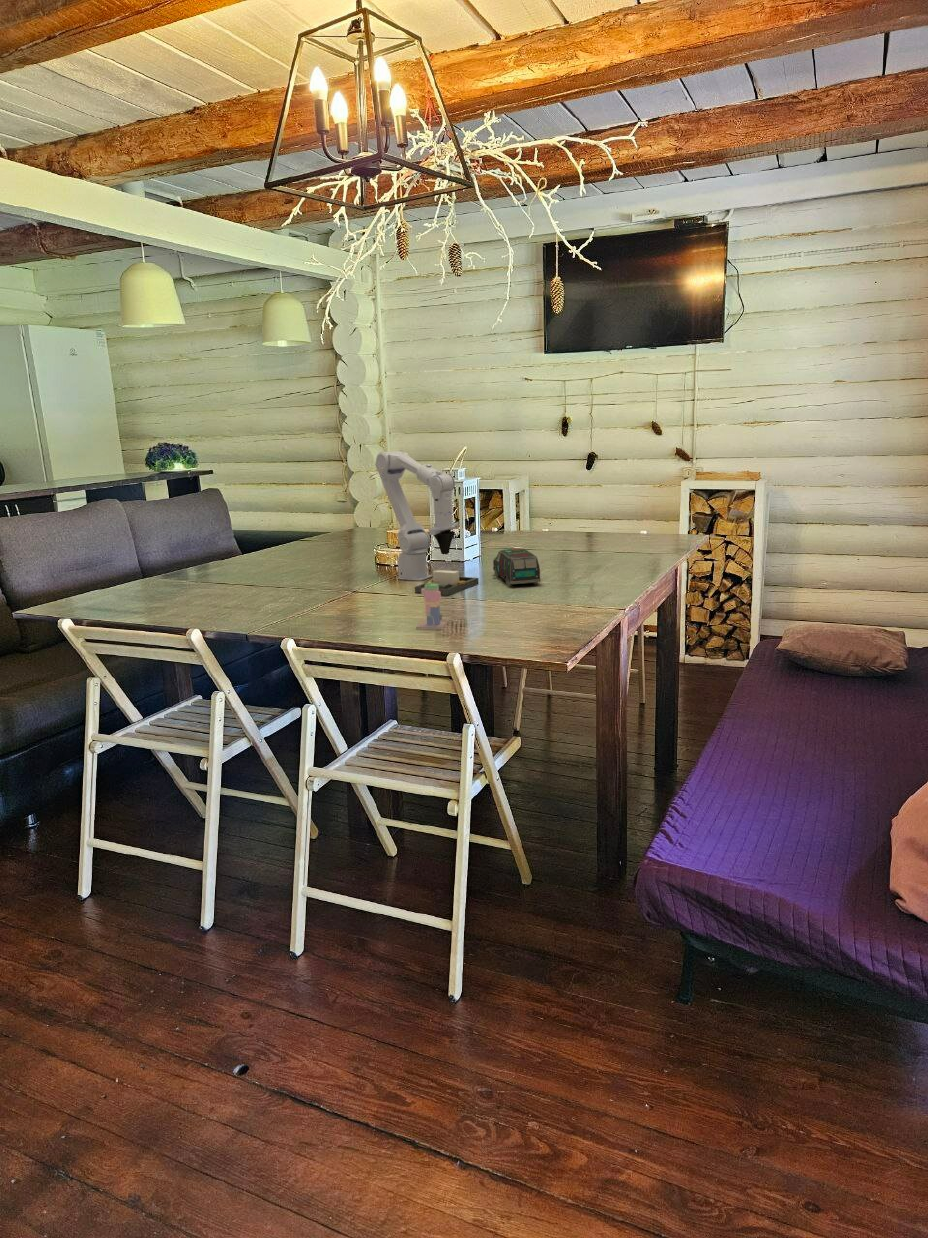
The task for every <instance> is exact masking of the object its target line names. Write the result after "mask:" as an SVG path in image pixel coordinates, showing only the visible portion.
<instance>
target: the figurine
mask: <svg viewBox="0 0 928 1238" xmlns="http://www.w3.org/2000/svg"><path fill="white" fill-rule="evenodd" d="M427 582H428V583H427ZM427 582H426V583H427V584H426V585H425V586H424V588H422V589H421V595H424V603H425V604H424V605H425V617H426V621H420V622H419V623H418V624H417V625H416V626H415V630H439V631H440V630H443V629H444V628H445V627H446V625H448V623H447V622H448V621H442V620H443V614H442V613H441V606H440V600H441V599H442V596H441V591H439V585H438V584H431V581H429V580H428V581H427Z"/></svg>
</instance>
